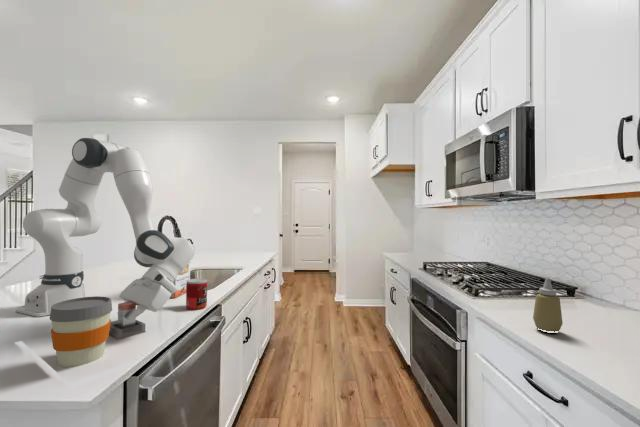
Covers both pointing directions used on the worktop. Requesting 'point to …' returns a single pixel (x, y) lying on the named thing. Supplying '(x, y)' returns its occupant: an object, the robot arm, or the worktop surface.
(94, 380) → the worktop surface
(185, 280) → the cracker box
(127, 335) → the square open tray
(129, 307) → the steel peg
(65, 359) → the reusable coffee cup
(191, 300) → the canned food
